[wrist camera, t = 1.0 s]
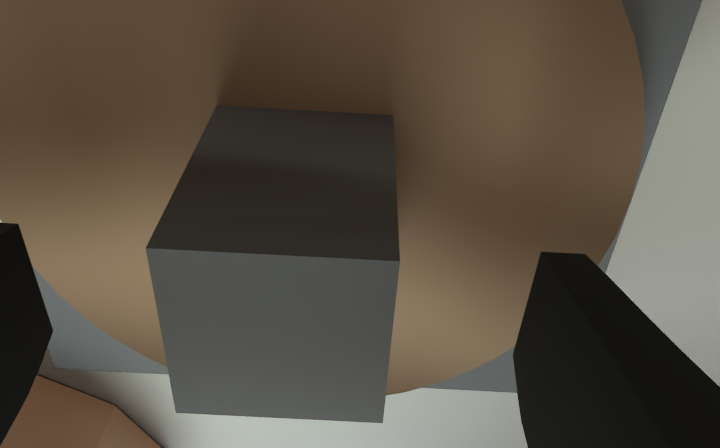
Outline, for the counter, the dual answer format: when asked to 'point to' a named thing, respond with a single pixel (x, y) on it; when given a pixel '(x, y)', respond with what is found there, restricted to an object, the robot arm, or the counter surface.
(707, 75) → the counter surface
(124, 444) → the bowl
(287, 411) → the lid
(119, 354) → the mat
